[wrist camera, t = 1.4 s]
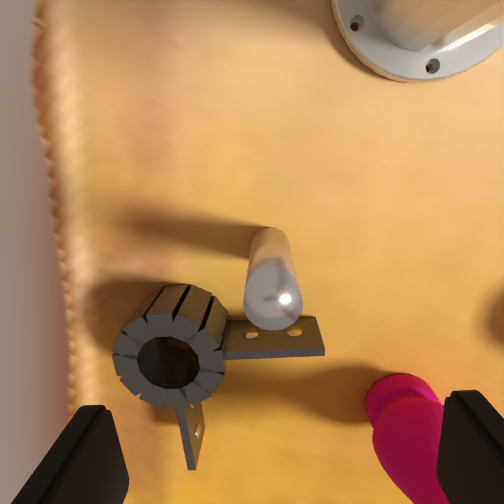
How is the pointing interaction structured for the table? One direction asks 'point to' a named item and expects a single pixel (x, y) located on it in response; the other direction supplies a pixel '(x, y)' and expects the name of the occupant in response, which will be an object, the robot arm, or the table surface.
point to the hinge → (196, 353)
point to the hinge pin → (271, 282)
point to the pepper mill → (407, 435)
